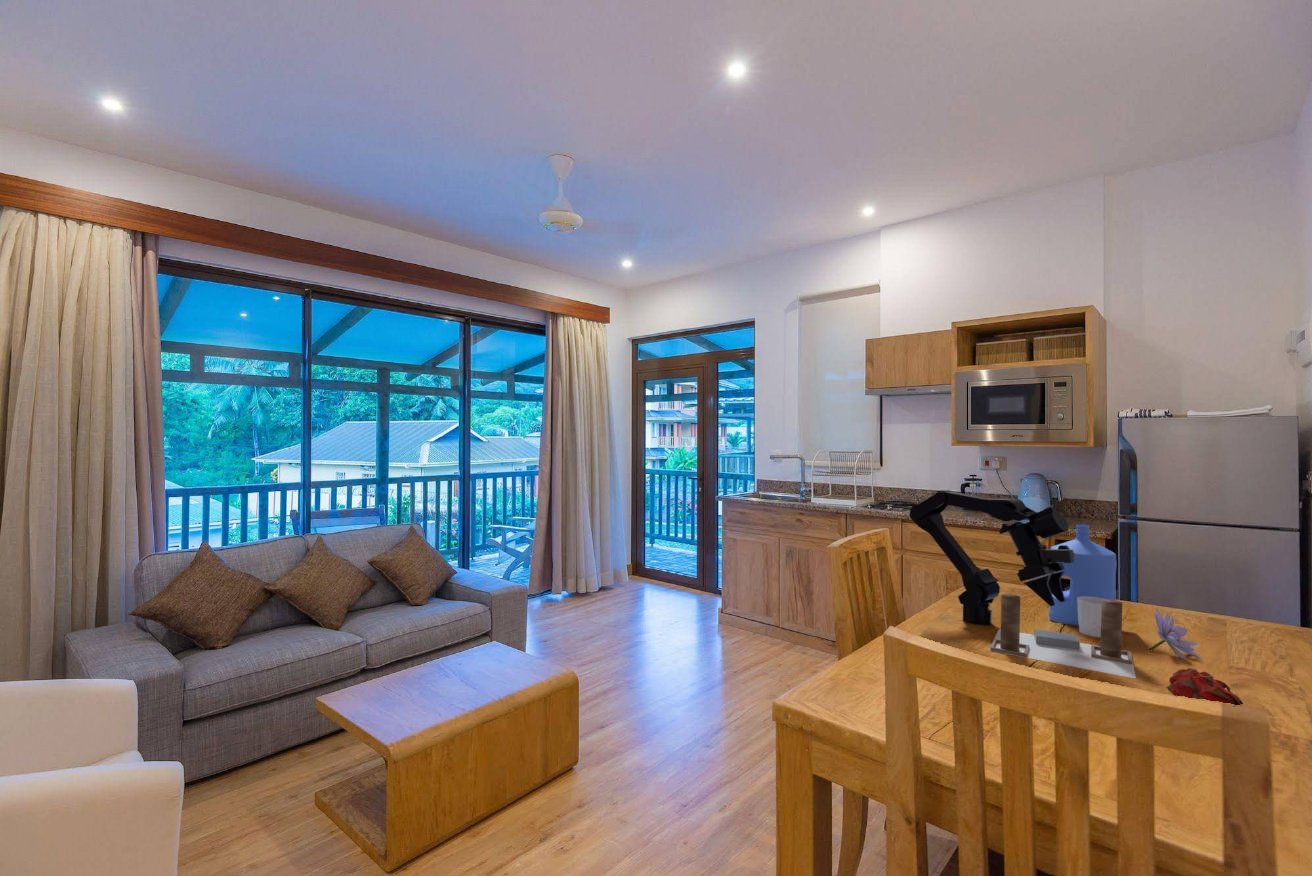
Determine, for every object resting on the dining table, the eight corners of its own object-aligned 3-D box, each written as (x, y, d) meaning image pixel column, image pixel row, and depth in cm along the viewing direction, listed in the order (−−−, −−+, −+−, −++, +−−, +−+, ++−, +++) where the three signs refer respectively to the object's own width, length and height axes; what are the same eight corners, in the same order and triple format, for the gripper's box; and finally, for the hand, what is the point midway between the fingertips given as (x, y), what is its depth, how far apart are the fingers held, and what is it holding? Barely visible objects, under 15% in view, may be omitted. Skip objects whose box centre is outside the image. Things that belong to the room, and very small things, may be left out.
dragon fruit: (1166, 704, 125) (1237, 740, 113) (1148, 685, 122) (1219, 721, 110) (1189, 670, 125) (1261, 703, 114) (1171, 651, 122) (1244, 683, 111)
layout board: (989, 655, 147) (989, 647, 147) (998, 633, 163) (998, 626, 163) (1135, 684, 131) (1136, 675, 131) (1130, 656, 147) (1130, 648, 147)
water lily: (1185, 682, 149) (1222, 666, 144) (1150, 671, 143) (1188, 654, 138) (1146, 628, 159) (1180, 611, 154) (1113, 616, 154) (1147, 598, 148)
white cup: (1119, 644, 156) (1120, 605, 155) (1085, 641, 157) (1085, 603, 157) (1103, 634, 163) (1104, 597, 163) (1070, 632, 165) (1071, 595, 165)
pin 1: (999, 649, 147) (1000, 596, 147) (1001, 645, 151) (1002, 593, 150) (1018, 653, 145) (1019, 599, 145) (1020, 648, 148) (1021, 595, 148)
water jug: (1112, 621, 175) (1114, 524, 175) (1118, 636, 162) (1120, 531, 161) (1048, 611, 183) (1049, 519, 183) (1048, 625, 170) (1050, 526, 170)
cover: (1036, 643, 152) (1036, 635, 152) (1033, 636, 157) (1034, 629, 157) (1079, 650, 148) (1079, 642, 148) (1075, 642, 153) (1075, 634, 153)
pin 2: (1104, 657, 143) (1105, 602, 142) (1097, 651, 146) (1098, 598, 146) (1124, 659, 141) (1125, 604, 141) (1116, 653, 145) (1117, 600, 145)
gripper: (1050, 535, 147) (1083, 598, 141) (1069, 532, 160) (1101, 591, 154) (1004, 550, 154) (1034, 611, 148) (1026, 546, 166) (1055, 603, 161)
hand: (1057, 603), depth 152 cm, fingers open, 9 cm apart
